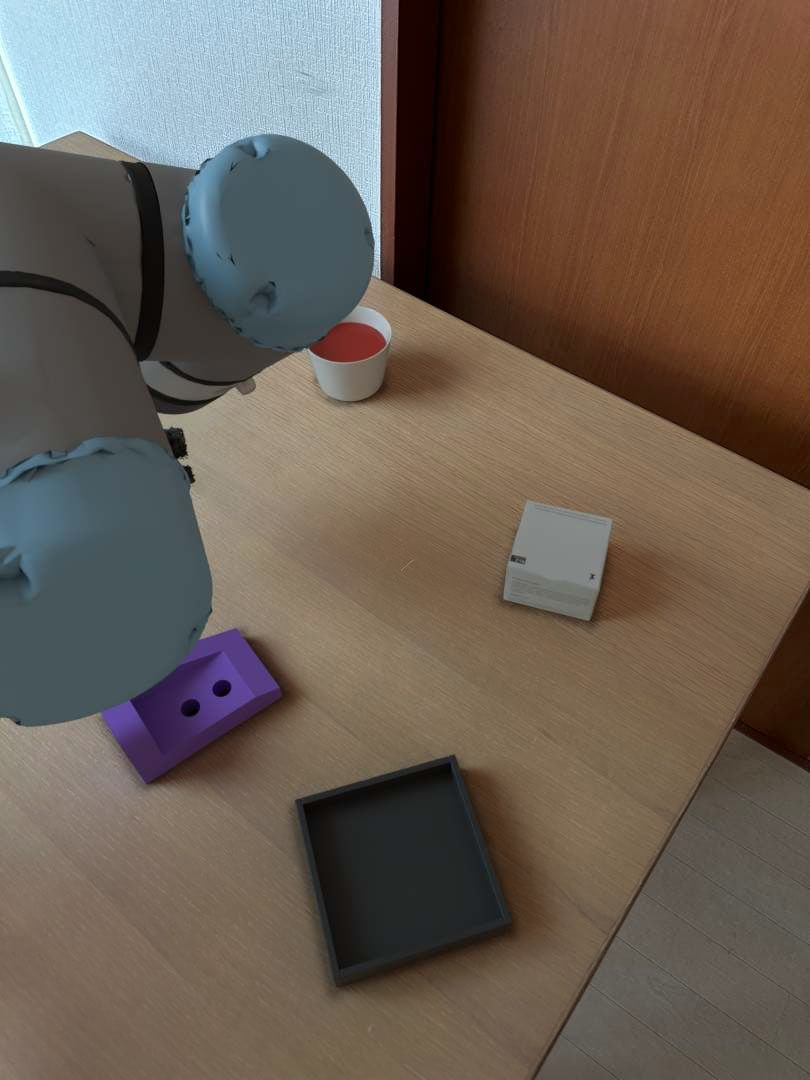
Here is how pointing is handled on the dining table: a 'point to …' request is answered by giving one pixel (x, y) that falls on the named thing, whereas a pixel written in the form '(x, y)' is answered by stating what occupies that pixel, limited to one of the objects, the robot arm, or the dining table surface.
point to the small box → (558, 560)
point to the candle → (353, 355)
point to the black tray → (399, 869)
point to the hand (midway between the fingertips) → (98, 410)
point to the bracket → (192, 704)
